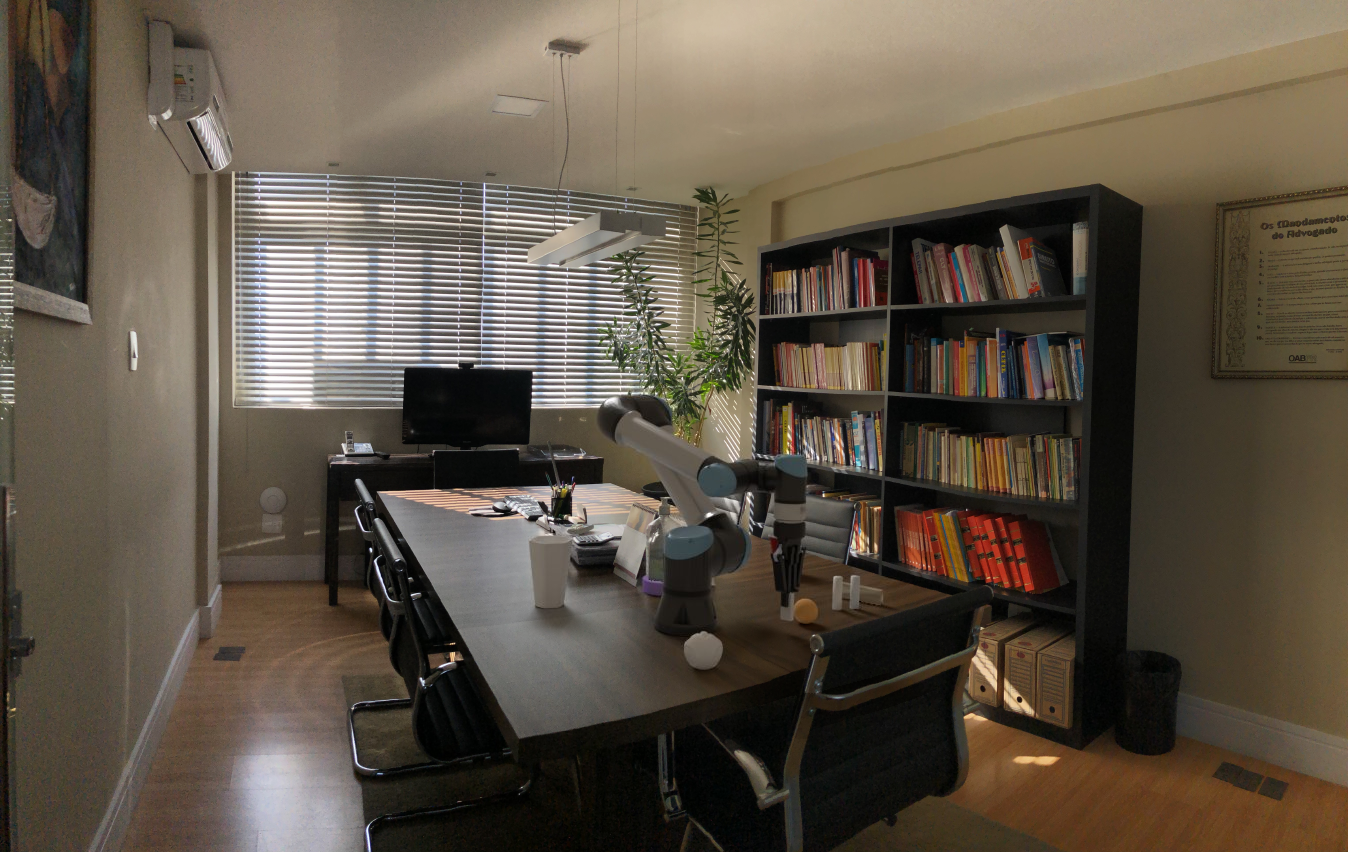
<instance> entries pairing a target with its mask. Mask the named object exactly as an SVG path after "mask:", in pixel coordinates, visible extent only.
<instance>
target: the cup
mask: <svg viewBox="0 0 1348 852" xmlns="http://www.w3.org/2000/svg"><path fill="white" fill-rule="evenodd" d="M573 540H574V539H573V538H572V537H568V536H562V535H557V534H555V535H536V536H534V537H532V538H530V539H528V547H529V558H530V559H529V560H530V567H531V578H532V579H531V580H532V585H533V586H532V588H533V598H534V600H533V601H534V606H535V607H539V608H541V609H547V610H548V609H559V608H561V607H562V606H563V605H564V604H565V598H566V592H567V583H568V577H569V570H570V569H569V568H570V561H571V554H572V546H573Z"/></svg>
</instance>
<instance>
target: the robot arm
mask: <svg viewBox="0 0 1348 852" xmlns="http://www.w3.org/2000/svg"><path fill="white" fill-rule="evenodd" d="M673 418H674V414H673V410H672V408H671V406H670V405H669V403H668V402H667V401H665V400H664V399H663V398H661V397H659V396H655V395H651V394H641V395H631V394H630V395H628V394H627V395H623V394H617V395H613V396H610V397H608V398H607V399H605V400H604V401H603V402H602V403H601V404H600V406H599V408H598V410H597V414H596V423H597V427H598V429H599V431H600V433H601V435H603V436H604V437H605V438H607V439H608V440H610V441H611V442H613V443H614V444H616V445H618V446H619V447H630V448H633V449H634V450H636V451H637V453H641V454H643V455H645V456H646V458H647V460H648V461H649V463H650V465H651V467H652V468H653V469H654V472H655V473H656V475H657V476H658V479H659V480H660V481H661V482H660V483H662V485H663V487H664V489H665V490H666V492H667V493H668V495H669V497H670V498H671V501H672V502H673V503H674V505H675V507H676V509H677V511H678V513H679V514H680V515H681V516H680V517H682V519H683V521H684V523H685V525H686V526H685V525H684V526H678V527H675V528H672V529H670V530H669V531H667V532H666V534H665V536H664V542H663V547H662V553H663V555H662V556H663V559H662V560H663V561H662V563H663V564H662V573H663V593H662V596H661V597H660V600H659V603H658V606H657V610H656V613H655V615H654V620H653V621H654V623H653V624H654V625H653V626H654V628H655V629H656V630H657V631H659V632H661V633H664V634H668V635H673V636H681V637H691V636H693V635H694V634H697V633H699V634H700V633H701V632H702V631H705V632H707V633H708V634H713V633H714V632H716V631H717V630H718V628H719V627H718V622H719V621H718V619H719V618H718V615H717V612H716V609H715V605H714V601H713V598H712V581H713V578H717V577H718V576H719V577H720V576H723V575H727V574H731V573H735V572H736V571H738V570H740V569H742V568H744V567H745V566H746V565H747V563H748V562H749V560H750V558H751V554H752V545H753V544H752V539H751V536H750V534H749V532H748V531H747V530H746V528H745V527H743V526H741V525H739V524H736V523H733V522H732V520H731V519H730V517H729V516H728V514H727V513H726V512H725V511H720V510H718V509H717V507H715V504H714V502H712V500H711V498H721V499H722V498H725V497H730V496H734V495H735V496H736V495H739V494H740V495H743V494H748V493H755V492H756V493H765V494H766V493H768V494H773V516H772V517H773V518H774V521H773V527H772V529H773V531H772V534H773V535H774V536H775V537H777V538H778V542H777V550H776V552H775V553H772V552H770V554H769V557H770V559H771V563H772V569H773V579H774V589H775V592H777V593H780V618H779V619H780V620H782V621H788V622H792V621H794V620H795V619H794V618H795V616H794V605H795V593H799V591H800V589H798V588H800V587H801V581H802V576H803V575H802V574H803V567H804V562H805V561H804V560H805V555H806V552H807V546H803V545H802V539H804V538H806V530H807V529H806V528H807V527H806V525H807V523H806V522H805V520H806V517H807V516H806V515H807V511H808V510H807V487H808V485H807V484H808V461H807V458H806V456H804V455H802V454H796V453H795V454H789V453H781V454H776V455H775V457H774V461H767V460H766V461H765V460H758V459H757V460H756V459H754V460H753V459H750V458H747V459H745V458H743V459H741V458H738V459H735V460H734V461H733V462H726V461H725V460H722V459H721V458H719V457H716V456H715V455H713V454H711V453H710V452H707V451H706V450H703V449H702V448H699V447H697V446H696V445H694V444H693V443H690V442H688V441H686V440H684V439H682V438H680V437H678V436H677V435H674V433H675V427H674V426H673V425H674V419H673ZM800 539H801V540H800Z"/></svg>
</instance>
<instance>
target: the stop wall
mask: <svg viewBox="0 0 1348 852" xmlns="http://www.w3.org/2000/svg"><path fill="white" fill-rule="evenodd" d="M850 586H851V582H845V581H843V587H842V599H845V600H849V599H850ZM831 596H832V597H833V590H832V593H831ZM859 601H861V602H860V603H864V602H865V604H868V603H870V605H873V604H875V605H874V606H878V605H880V606H882V605H883V604H884V589H880V588H876V587H871V586H866V585H862V584H860V594H859ZM881 604H882V605H881Z"/></svg>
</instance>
